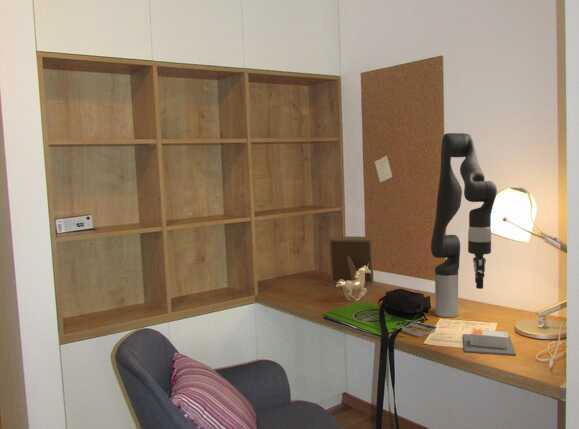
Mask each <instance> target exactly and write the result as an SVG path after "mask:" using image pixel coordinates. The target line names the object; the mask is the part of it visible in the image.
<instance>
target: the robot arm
mask: <svg viewBox="0 0 579 429" xmlns="http://www.w3.org/2000/svg"><path fill="white" fill-rule="evenodd" d="M473 140H474V139H473V138H472V136H471V135H470V134H469V133H461V132H460V133H459V132H458V133H457V132H456V133H455V132H453V133H452V132H447V133H444V135H443V137H442V138H441V144H440V146H441V147H440V148H441V150H440V170H439V181H438V188H437V198H436V209H435V218H434V226H433V230H432V236H431V242H430V252H431V254H432V256H433V258H436V259H437V258H438V259H444V258H446V259H445V260H444V262H442V263H440V264H438V265H436V266H435V268H434V314H435V315H436V316H438V317H442V318H454V317H457V316H458V315H459V270H460V257H461V255H460V254H461V243H460V239H459V236H458V235H456V234H446V233H445V232H446V230H447V227H448V225H449V223H450V222H451V221H452V219H453V218H454V217H455V216H456V215H457V212H458V211H459V210H460V207H461V203H462V195H464V196H463V197H464V198H465V200H466V201H468V202H470V203H482V205H481V206H479V207H477V208H473V209H471V210H469V214H468V231H467V233H468V234H467V252H468V253H469V254H471V255H474V257H472V262H473V268H474V269H473V270H474V274H475V275H474V282H475V283H476V284H475V286H476V287H475V288H476V289H478V290H479V289H480V290H481V289H484V278H485V276H486V275H485V273H486V272H485V271H486V262H487V261H486V257H484V256H485V255H490V254H491V252H492V229H491V226H492V225H491V220H492V217H491V216H492V211H493V207H494V203H495V200H496V198H497V194H498V190H497V186H496V184H495V182H493V181H492V180H491V181H490V180H489V181H488V180H486V181H485V174H484V172H483V171H482V168H481V166H480V164H479V161H478V156H477V153H476V148H475V144H474V141H473ZM452 158H464V159H463V161H462V162H461V164H460V167H459V172H460V176H461V179H462V180H463V183H464V184H463V185H464V188H463V190H464V191H463V190H462V186H461V184H460V183H459V180H458V178H457V176H456V175H455V173H454V171H453V167H452V164H451V162H452Z"/></svg>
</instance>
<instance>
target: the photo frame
mask: <svg viewBox="0 0 579 429" xmlns="http://www.w3.org/2000/svg"><path fill="white" fill-rule="evenodd" d="M328 246H329V248H328V249H329V262H330V264H329V265H330V279H331V283H334V284H338V283H337V282H338V281H339V280H341V279H343V280H345V281H347V280H350V281H354V280H356V279H355V278H356V277H354V276H355V274H356V272H357V271H358V269H360V268H361V267H364V265H365V266H367V265H368V269H369V270H370V271H371V273H370V274H369V273H365V284H367V285H373V283H374V281H375V280H374V259H373V255H374V254H373V253H374V252H373V236H349V235H347V236H345V235H344V236H343V235H342V236H340V235H339V236H334V235H333V236H332V235H331V236H329V238H328ZM368 263H369V264H368ZM365 284H364V285H365Z"/></svg>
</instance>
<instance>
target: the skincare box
mask: <svg viewBox="0 0 579 429" xmlns="http://www.w3.org/2000/svg"><path fill="white" fill-rule="evenodd" d="M469 334H470V345H472V346H482V347H493V348H503V349H507V347H508V337H509V336H508V335H509V334H508V331H499V330H497V331H496V330H487V329H486V330H485V329H477V328H476V329H474V328H472V329H471V332H470V333H469Z"/></svg>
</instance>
